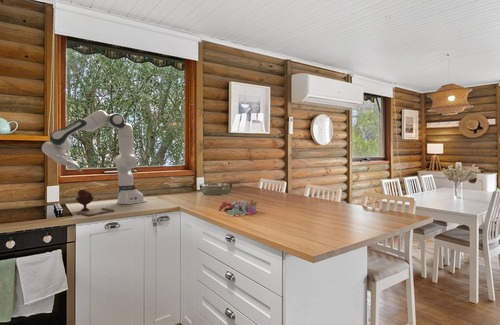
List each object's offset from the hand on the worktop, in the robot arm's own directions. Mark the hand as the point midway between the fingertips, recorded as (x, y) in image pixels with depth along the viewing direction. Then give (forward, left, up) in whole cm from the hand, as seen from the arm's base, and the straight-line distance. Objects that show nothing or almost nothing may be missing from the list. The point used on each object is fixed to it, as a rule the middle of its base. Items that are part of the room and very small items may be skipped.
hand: (78, 169), depth 213 cm
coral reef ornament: (-92, +67, -30) cm, 118 cm away
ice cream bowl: (-4, +3, -29) cm, 30 cm away
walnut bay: (-9, +14, -29) cm, 34 cm away
